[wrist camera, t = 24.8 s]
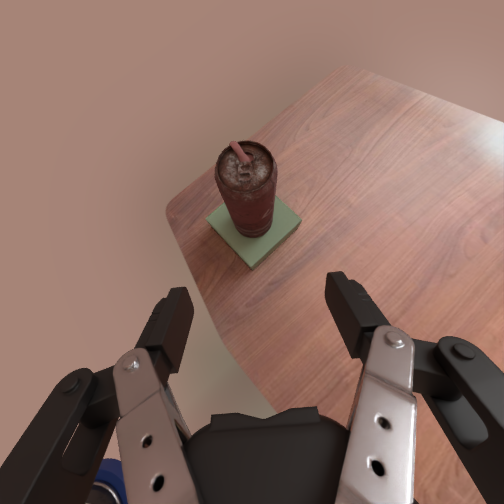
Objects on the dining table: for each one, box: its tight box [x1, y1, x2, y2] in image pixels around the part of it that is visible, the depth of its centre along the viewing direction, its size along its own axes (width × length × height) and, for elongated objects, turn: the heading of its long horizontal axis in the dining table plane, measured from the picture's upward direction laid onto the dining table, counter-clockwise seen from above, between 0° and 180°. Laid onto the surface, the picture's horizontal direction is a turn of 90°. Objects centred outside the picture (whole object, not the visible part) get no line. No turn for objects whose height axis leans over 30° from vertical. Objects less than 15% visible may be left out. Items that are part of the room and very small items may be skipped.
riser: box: [206, 195, 302, 270], centre depth 34 cm, size 11×11×4 cm
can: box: [215, 141, 277, 238], centre depth 25 cm, size 6×6×14 cm
